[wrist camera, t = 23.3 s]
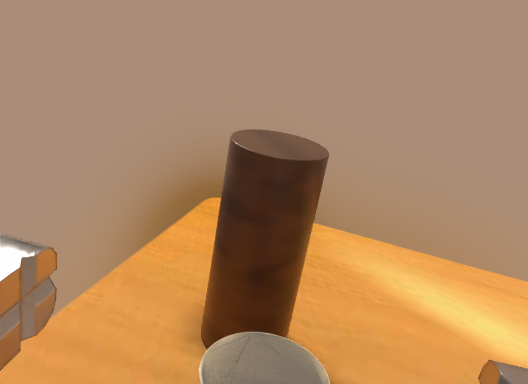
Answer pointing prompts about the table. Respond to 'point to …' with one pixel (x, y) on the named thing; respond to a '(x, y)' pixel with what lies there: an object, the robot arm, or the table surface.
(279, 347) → the tumbler
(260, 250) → the stand
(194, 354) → the table surface
